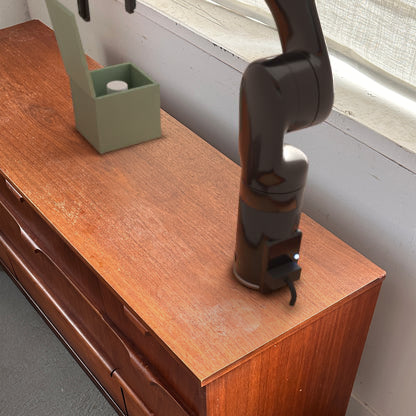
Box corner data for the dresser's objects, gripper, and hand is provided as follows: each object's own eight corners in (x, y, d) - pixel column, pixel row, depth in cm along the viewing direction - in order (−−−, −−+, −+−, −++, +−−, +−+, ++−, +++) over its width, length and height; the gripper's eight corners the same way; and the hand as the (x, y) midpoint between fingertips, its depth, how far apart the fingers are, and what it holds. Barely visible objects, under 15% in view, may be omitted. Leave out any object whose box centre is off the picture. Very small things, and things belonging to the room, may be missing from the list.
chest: (134, 113, 134) (131, 61, 126) (161, 137, 127) (159, 83, 119) (75, 128, 129) (68, 75, 121) (100, 154, 122) (94, 99, 114)
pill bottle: (129, 136, 126) (125, 92, 119) (104, 133, 126) (99, 89, 120) (136, 124, 129) (133, 80, 122) (111, 121, 130) (108, 77, 123)
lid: (46, -9, 109) (42, -7, 109) (74, 13, 103) (69, 15, 102) (70, 72, 120) (66, 73, 120) (96, 96, 114) (92, 98, 114)
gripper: (66, -84, 95) (80, 31, 107) (149, -94, 100) (153, 16, 112) (47, -95, 99) (62, 16, 111) (128, -105, 104) (134, 3, 116)
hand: (108, 16), depth 112 cm, fingers open, 8 cm apart
